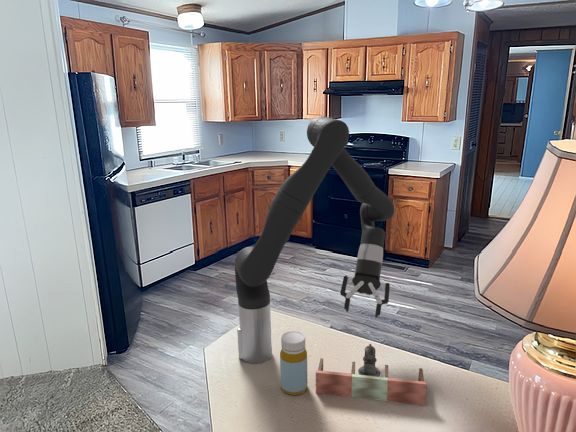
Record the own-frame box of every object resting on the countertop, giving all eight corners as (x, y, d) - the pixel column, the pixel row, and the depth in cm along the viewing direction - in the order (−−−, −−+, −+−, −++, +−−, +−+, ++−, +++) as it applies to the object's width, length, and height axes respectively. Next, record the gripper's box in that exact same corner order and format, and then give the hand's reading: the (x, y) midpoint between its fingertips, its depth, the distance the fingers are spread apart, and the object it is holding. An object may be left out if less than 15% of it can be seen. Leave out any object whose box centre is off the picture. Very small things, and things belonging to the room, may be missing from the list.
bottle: (294, 376, 118) (293, 327, 114) (312, 387, 113) (312, 336, 109) (275, 387, 113) (274, 337, 109) (294, 400, 108) (293, 347, 104)
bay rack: (315, 392, 111) (315, 372, 109) (320, 370, 120) (320, 351, 118) (425, 405, 105) (426, 384, 104) (421, 381, 114) (422, 361, 113)
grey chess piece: (378, 377, 116) (380, 338, 113) (381, 391, 111) (383, 350, 108) (357, 376, 117) (358, 337, 114) (358, 390, 111) (359, 349, 108)
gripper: (345, 254, 128) (336, 309, 124) (394, 262, 125) (386, 318, 121) (346, 259, 135) (338, 310, 131) (392, 266, 132) (385, 319, 128)
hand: (361, 314), depth 126 cm, fingers open, 8 cm apart
